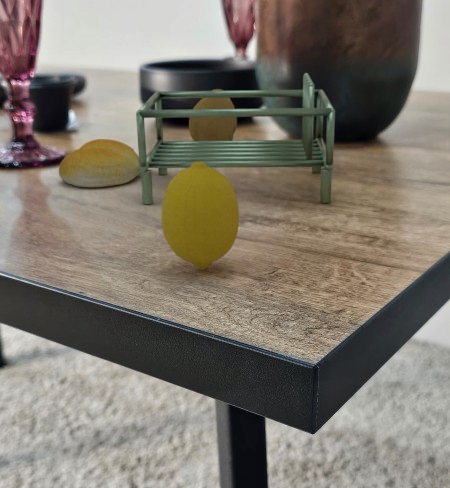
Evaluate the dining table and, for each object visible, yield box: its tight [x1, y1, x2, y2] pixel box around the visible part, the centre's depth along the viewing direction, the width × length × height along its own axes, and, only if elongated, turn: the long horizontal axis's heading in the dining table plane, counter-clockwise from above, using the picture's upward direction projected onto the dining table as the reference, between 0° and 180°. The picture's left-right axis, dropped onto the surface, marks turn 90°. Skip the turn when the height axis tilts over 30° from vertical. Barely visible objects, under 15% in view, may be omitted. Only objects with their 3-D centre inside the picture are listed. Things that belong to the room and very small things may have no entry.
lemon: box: [161, 162, 240, 270], centre depth 53 cm, size 6×6×8 cm
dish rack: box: [135, 72, 336, 205], centre depth 74 cm, size 18×13×11 cm
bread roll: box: [58, 138, 141, 189], centre depth 80 cm, size 8×9×4 cm
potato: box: [188, 88, 238, 141], centre depth 88 cm, size 7×8×8 cm
